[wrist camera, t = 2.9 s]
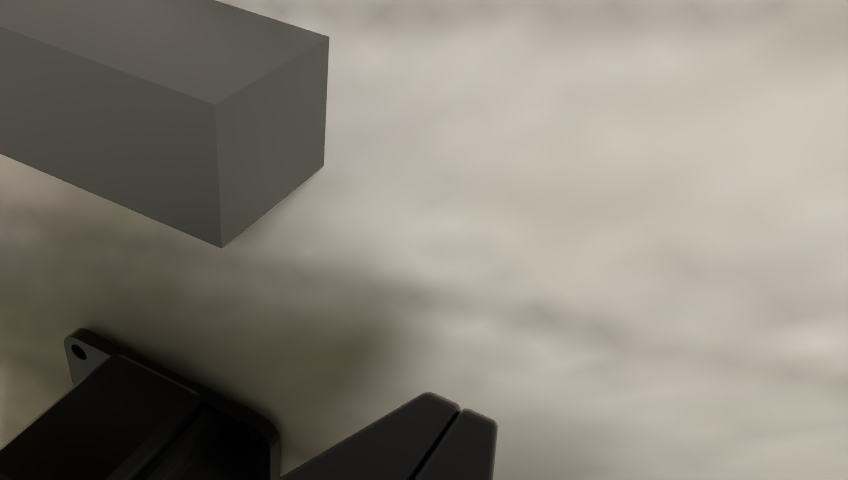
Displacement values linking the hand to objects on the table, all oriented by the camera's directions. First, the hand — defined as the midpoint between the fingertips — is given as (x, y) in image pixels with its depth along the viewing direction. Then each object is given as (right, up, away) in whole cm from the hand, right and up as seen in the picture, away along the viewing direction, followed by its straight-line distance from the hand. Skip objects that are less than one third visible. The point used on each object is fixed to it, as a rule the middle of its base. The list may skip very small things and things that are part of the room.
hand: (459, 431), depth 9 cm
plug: (-8, +7, +7) cm, 13 cm away
